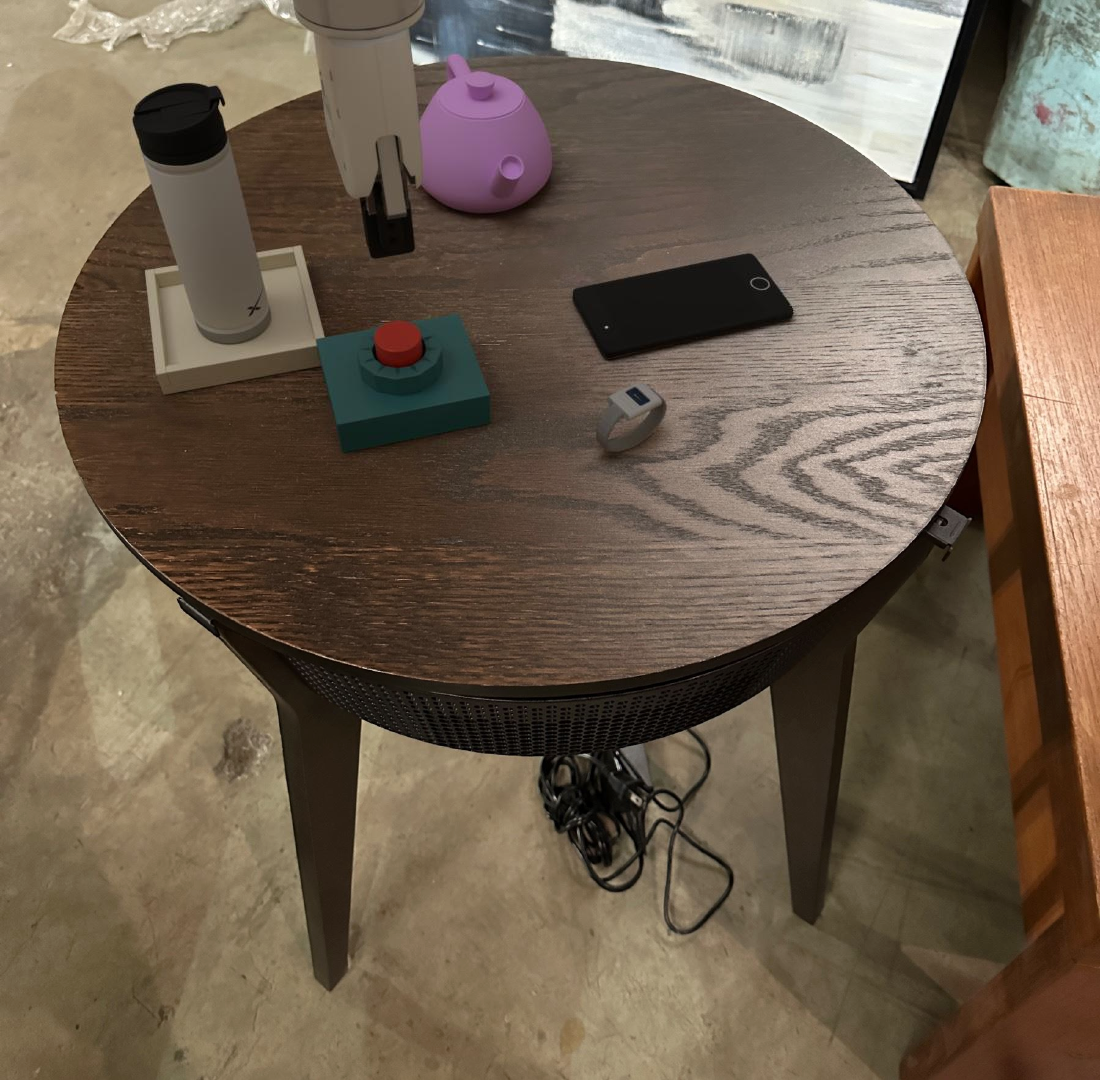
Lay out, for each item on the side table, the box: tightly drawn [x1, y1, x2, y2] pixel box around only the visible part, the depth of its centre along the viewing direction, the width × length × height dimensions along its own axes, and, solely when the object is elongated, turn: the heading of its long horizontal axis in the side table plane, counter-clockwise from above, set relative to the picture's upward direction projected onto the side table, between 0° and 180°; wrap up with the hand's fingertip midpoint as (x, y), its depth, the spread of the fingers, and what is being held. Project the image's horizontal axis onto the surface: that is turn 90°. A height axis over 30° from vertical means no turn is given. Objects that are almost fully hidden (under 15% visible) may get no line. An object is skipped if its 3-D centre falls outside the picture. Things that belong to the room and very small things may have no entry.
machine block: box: [316, 313, 492, 454], centre depth 82 cm, size 12×10×5 cm
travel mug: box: [132, 82, 271, 343], centre depth 80 cm, size 6×7×20 cm
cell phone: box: [572, 252, 795, 360], centre depth 91 cm, size 9×18×1 cm, turn 109°
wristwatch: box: [595, 380, 668, 453], centre depth 80 cm, size 6×3×5 cm, turn 126°
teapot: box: [419, 53, 553, 214], centre depth 98 cm, size 14×20×11 cm
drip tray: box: [144, 245, 326, 396], centre depth 88 cm, size 14×14×2 cm
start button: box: [374, 320, 423, 368], centre depth 80 cm, size 4×4×2 cm
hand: (390, 248), depth 73 cm, fingers closed
